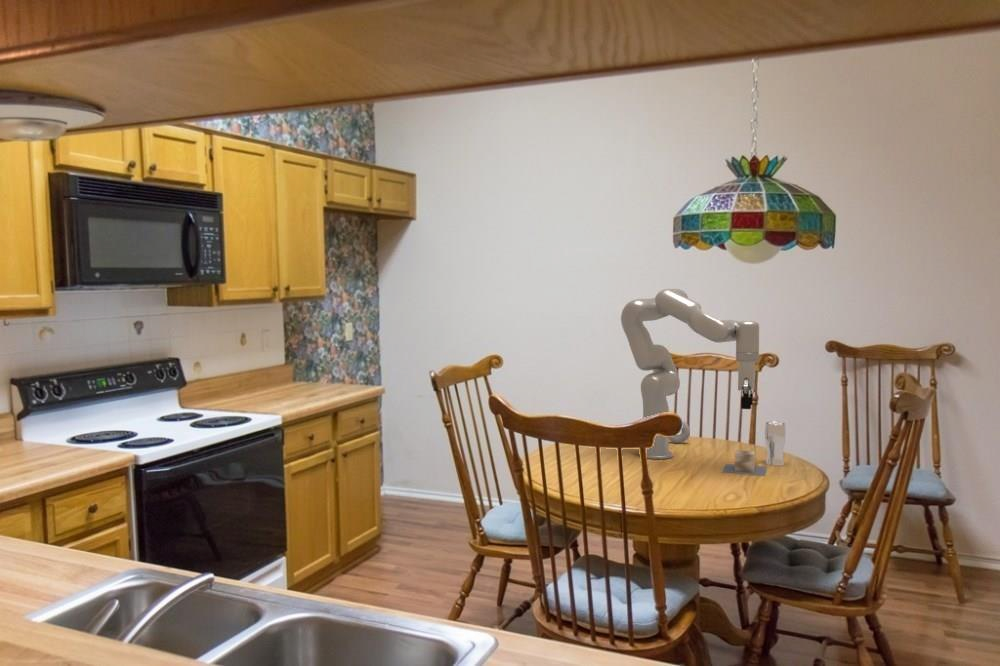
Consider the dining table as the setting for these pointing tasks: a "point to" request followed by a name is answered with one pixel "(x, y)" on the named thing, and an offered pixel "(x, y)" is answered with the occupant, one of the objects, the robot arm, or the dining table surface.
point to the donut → (683, 435)
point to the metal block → (744, 460)
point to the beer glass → (775, 442)
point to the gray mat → (757, 471)
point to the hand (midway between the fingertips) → (746, 406)
